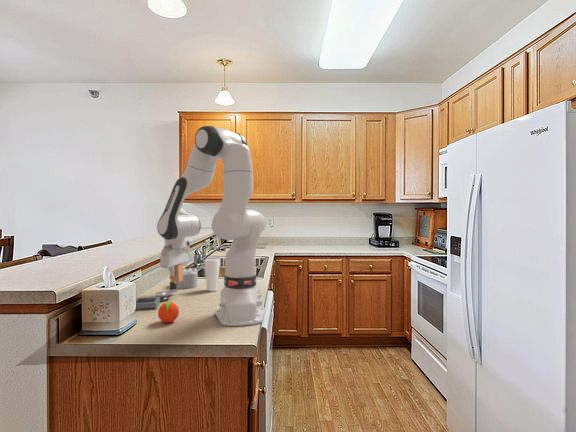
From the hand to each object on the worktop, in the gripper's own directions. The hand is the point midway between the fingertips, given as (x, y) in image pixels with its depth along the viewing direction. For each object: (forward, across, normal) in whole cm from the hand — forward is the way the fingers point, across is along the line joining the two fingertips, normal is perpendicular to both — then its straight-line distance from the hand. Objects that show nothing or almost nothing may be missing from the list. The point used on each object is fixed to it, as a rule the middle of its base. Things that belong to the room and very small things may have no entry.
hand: (176, 274), depth 154 cm
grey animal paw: (+10, +22, +6) cm, 25 cm away
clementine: (+11, -32, -14) cm, 37 cm away
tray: (+10, -16, +5) cm, 19 cm away
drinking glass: (+10, +15, -11) cm, 21 cm away
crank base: (+10, -6, +4) cm, 12 cm away
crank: (+8, -2, +4) cm, 9 cm away
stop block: (+3, 0, 0) cm, 3 cm away
